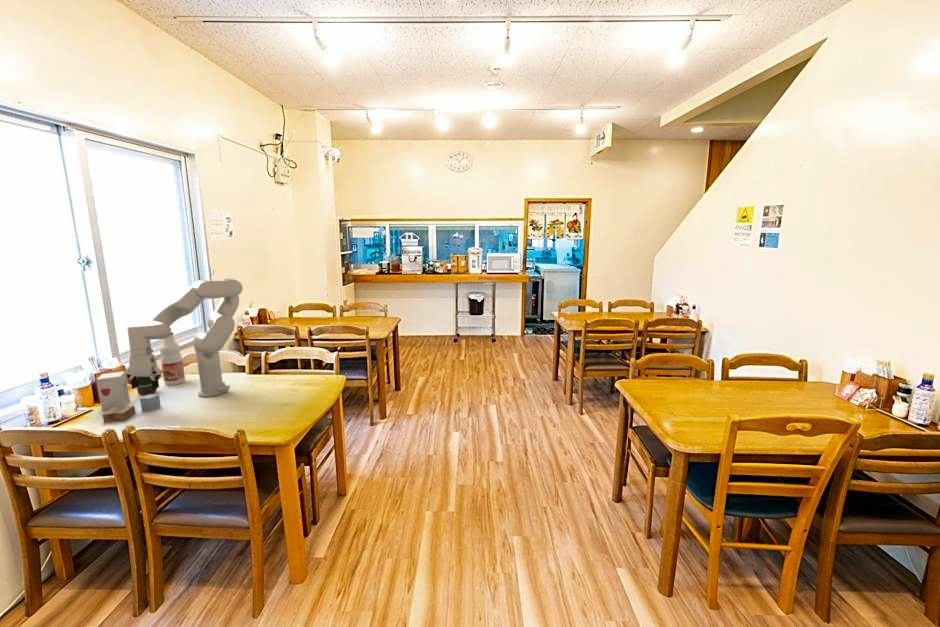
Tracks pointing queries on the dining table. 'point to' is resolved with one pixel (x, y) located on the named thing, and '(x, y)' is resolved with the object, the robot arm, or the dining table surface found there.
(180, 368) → the fruit juice
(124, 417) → the walnut block
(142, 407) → the cube
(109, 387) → the supplement box
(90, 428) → the dining table surface
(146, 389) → the beer bottle
